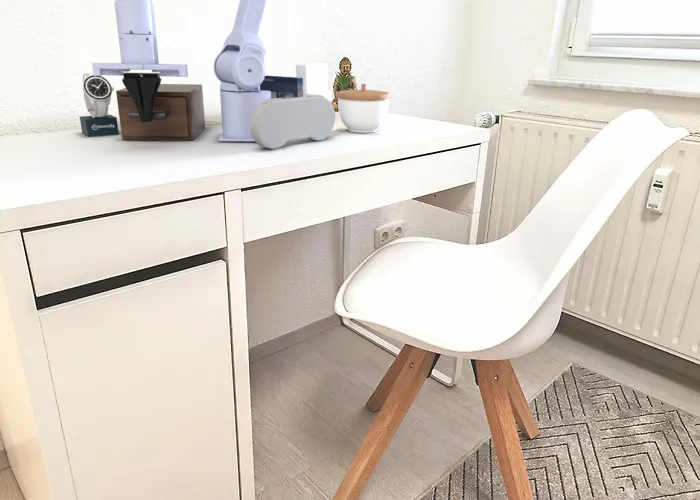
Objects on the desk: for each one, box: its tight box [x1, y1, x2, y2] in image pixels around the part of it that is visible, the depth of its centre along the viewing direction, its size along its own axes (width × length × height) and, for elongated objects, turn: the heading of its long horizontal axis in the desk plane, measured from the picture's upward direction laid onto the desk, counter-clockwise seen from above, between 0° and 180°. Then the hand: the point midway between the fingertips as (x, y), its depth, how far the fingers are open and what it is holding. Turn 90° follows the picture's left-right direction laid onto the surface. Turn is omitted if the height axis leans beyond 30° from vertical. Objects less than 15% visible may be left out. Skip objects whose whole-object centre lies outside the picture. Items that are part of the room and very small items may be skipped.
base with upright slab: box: [295, 62, 332, 103], centre depth 129 cm, size 9×9×12 cm
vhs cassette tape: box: [260, 75, 303, 99], centre depth 120 cm, size 18×3×10 cm, turn 64°
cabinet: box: [115, 83, 206, 141], centre depth 105 cm, size 15×13×9 cm
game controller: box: [250, 95, 336, 150], centre depth 98 cm, size 20×2×8 cm, turn 140°
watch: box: [79, 72, 120, 138], centre depth 102 cm, size 6×8×11 cm
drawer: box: [118, 96, 189, 137], centre depth 101 cm, size 18×11×7 cm, turn 5°
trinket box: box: [337, 83, 391, 134], centre depth 113 cm, size 11×11×9 cm
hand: (146, 121), depth 92 cm, fingers closed, pressing on drawer
